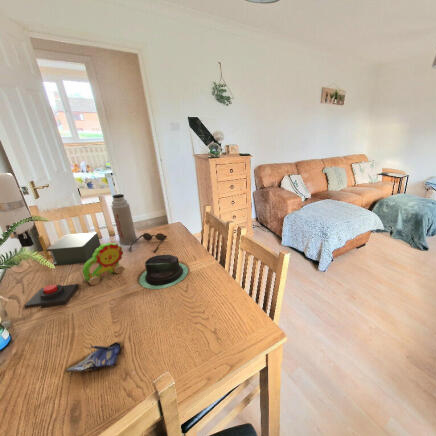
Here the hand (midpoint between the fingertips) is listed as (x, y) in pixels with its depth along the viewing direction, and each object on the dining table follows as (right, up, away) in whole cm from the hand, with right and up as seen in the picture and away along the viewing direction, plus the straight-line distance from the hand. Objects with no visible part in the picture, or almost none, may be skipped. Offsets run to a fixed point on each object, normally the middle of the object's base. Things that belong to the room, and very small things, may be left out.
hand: (28, 245), depth 101 cm
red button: (+19, -16, -9) cm, 27 cm away
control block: (+19, -20, -7) cm, 28 cm away
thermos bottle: (+18, -2, +37) cm, 41 cm away
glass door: (-3, -8, +15) cm, 17 cm away
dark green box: (+4, -7, +21) cm, 23 cm away
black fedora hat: (+53, -15, +10) cm, 56 cm away
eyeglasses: (+31, -4, +33) cm, 46 cm away
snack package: (+55, -31, -30) cm, 70 cm away
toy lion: (+28, -15, +7) cm, 33 cm away
